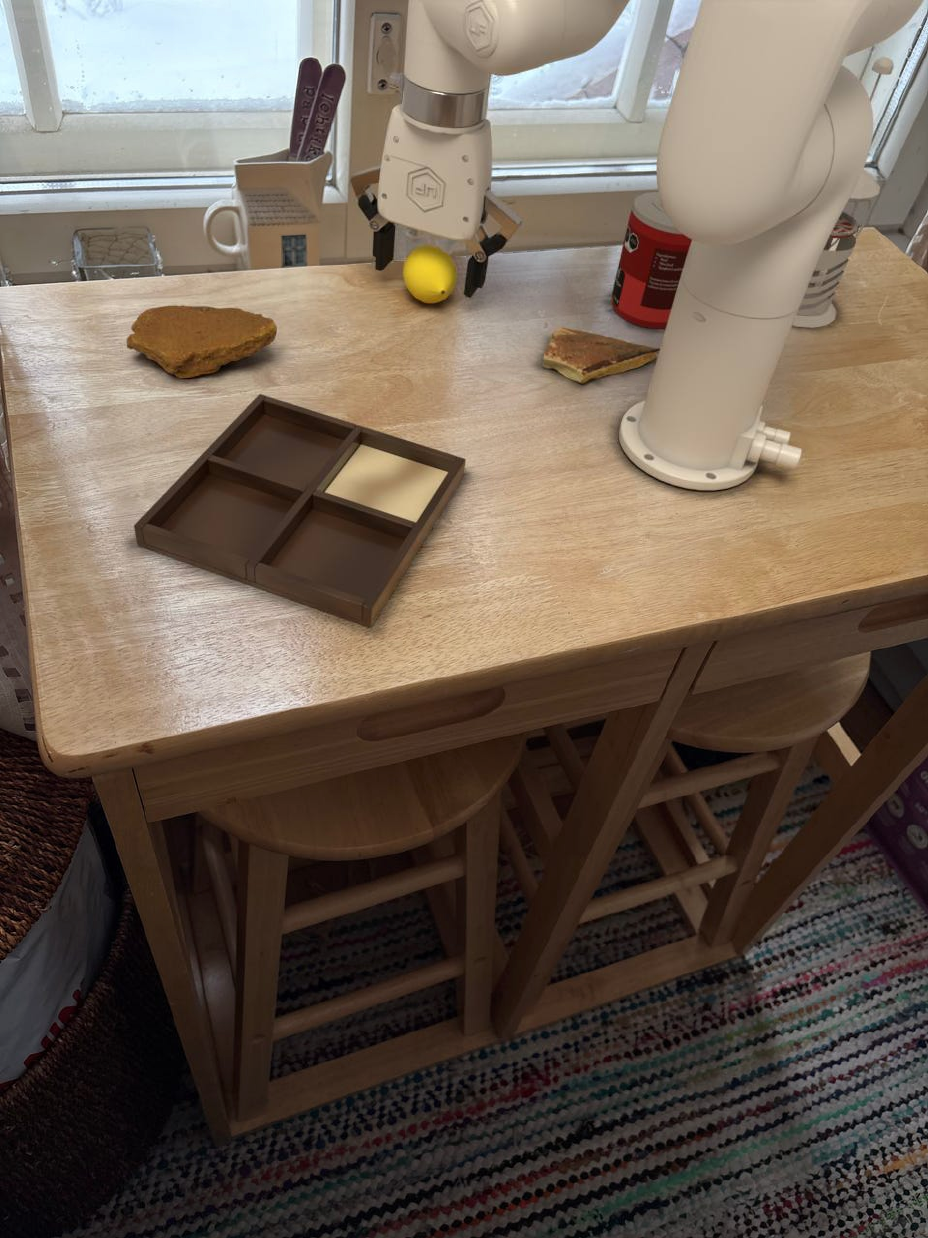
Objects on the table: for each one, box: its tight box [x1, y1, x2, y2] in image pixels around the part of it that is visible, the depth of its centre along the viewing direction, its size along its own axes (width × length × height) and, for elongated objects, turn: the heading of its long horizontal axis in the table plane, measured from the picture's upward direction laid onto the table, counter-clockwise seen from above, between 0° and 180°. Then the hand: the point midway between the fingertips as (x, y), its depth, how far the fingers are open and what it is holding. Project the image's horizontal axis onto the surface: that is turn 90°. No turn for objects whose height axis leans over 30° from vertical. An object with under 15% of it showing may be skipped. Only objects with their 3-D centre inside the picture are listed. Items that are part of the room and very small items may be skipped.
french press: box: [792, 56, 895, 329], centre depth 100 cm, size 10×12×25 cm
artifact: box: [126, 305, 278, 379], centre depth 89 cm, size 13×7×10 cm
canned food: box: [610, 191, 692, 329], centre depth 101 cm, size 8×8×11 cm
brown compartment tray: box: [133, 393, 467, 629], centre depth 77 cm, size 19×19×2 cm
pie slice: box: [542, 327, 660, 385], centre depth 95 cm, size 11×8×2 cm
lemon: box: [402, 244, 458, 304], centre depth 99 cm, size 7×5×5 cm
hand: (427, 278), depth 100 cm, fingers open, 9 cm apart
